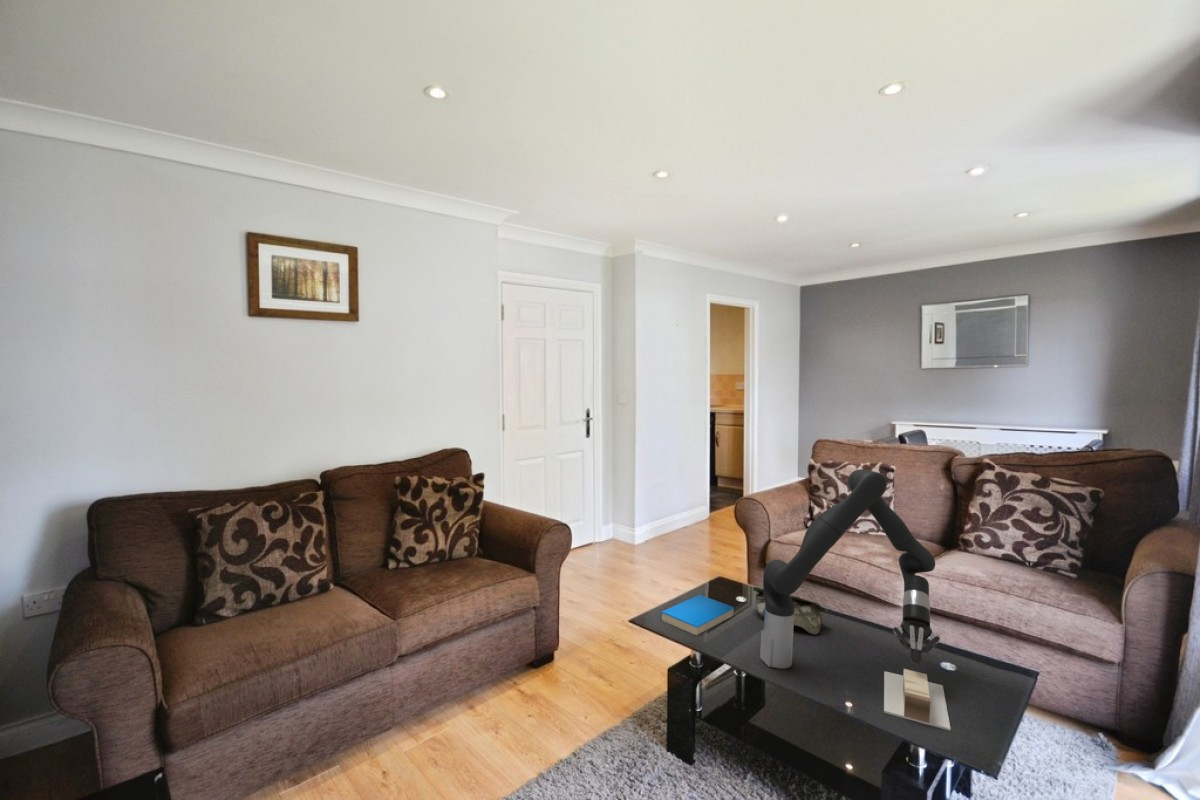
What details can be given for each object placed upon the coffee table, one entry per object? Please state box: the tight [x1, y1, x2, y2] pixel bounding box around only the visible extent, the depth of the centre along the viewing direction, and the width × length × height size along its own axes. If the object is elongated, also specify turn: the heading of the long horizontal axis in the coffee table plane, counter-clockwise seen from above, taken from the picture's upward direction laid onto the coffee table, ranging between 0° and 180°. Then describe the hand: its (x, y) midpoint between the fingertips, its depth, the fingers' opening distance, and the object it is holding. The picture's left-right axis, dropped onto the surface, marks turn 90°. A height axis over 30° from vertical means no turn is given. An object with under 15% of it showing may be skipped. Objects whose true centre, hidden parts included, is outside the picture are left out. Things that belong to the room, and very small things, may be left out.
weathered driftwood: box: [752, 586, 828, 635], centre depth 211 cm, size 28×13×15 cm
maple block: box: [902, 668, 930, 723], centre depth 159 cm, size 6×6×16 cm
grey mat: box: [883, 671, 952, 732], centre depth 163 cm, size 24×16×1 cm, turn 153°
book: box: [660, 594, 735, 636], centre depth 213 cm, size 17×4×25 cm
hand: (915, 663), depth 164 cm, fingers closed
